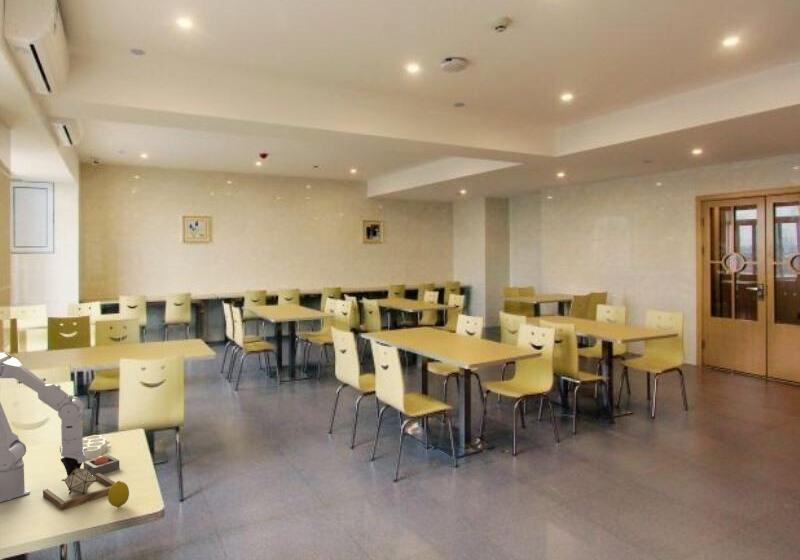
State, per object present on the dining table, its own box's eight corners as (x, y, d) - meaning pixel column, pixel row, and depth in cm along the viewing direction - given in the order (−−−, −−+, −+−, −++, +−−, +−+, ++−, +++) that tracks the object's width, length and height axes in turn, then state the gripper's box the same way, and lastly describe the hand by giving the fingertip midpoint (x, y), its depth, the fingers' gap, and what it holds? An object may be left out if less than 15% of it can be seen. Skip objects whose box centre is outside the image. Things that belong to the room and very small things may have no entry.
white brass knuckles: (68, 447, 206) (111, 441, 212) (62, 464, 190) (109, 457, 196) (67, 438, 205) (111, 433, 212) (62, 454, 189) (109, 448, 196)
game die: (87, 502, 168) (108, 474, 170) (68, 505, 160) (91, 476, 162) (68, 484, 171) (90, 457, 173) (49, 486, 163) (71, 458, 165)
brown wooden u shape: (61, 510, 155) (61, 504, 155) (43, 496, 164) (42, 490, 164) (119, 490, 168) (119, 484, 168) (99, 478, 177) (99, 472, 177)
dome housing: (94, 476, 179) (94, 467, 178) (83, 470, 184) (83, 461, 183) (119, 468, 185) (119, 460, 185) (108, 462, 190) (108, 454, 190)
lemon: (124, 501, 162) (123, 475, 161) (132, 507, 158) (132, 480, 158) (104, 508, 157) (104, 481, 157) (113, 514, 154) (112, 487, 153)
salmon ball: (97, 472, 181) (97, 459, 181) (92, 468, 184) (91, 456, 184) (111, 468, 185) (111, 455, 184) (105, 464, 187) (105, 452, 187)
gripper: (95, 439, 168) (96, 481, 169) (76, 429, 177) (77, 469, 177) (71, 445, 162) (72, 488, 163) (52, 434, 171) (53, 476, 172)
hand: (73, 479), depth 170 cm, fingers closed
